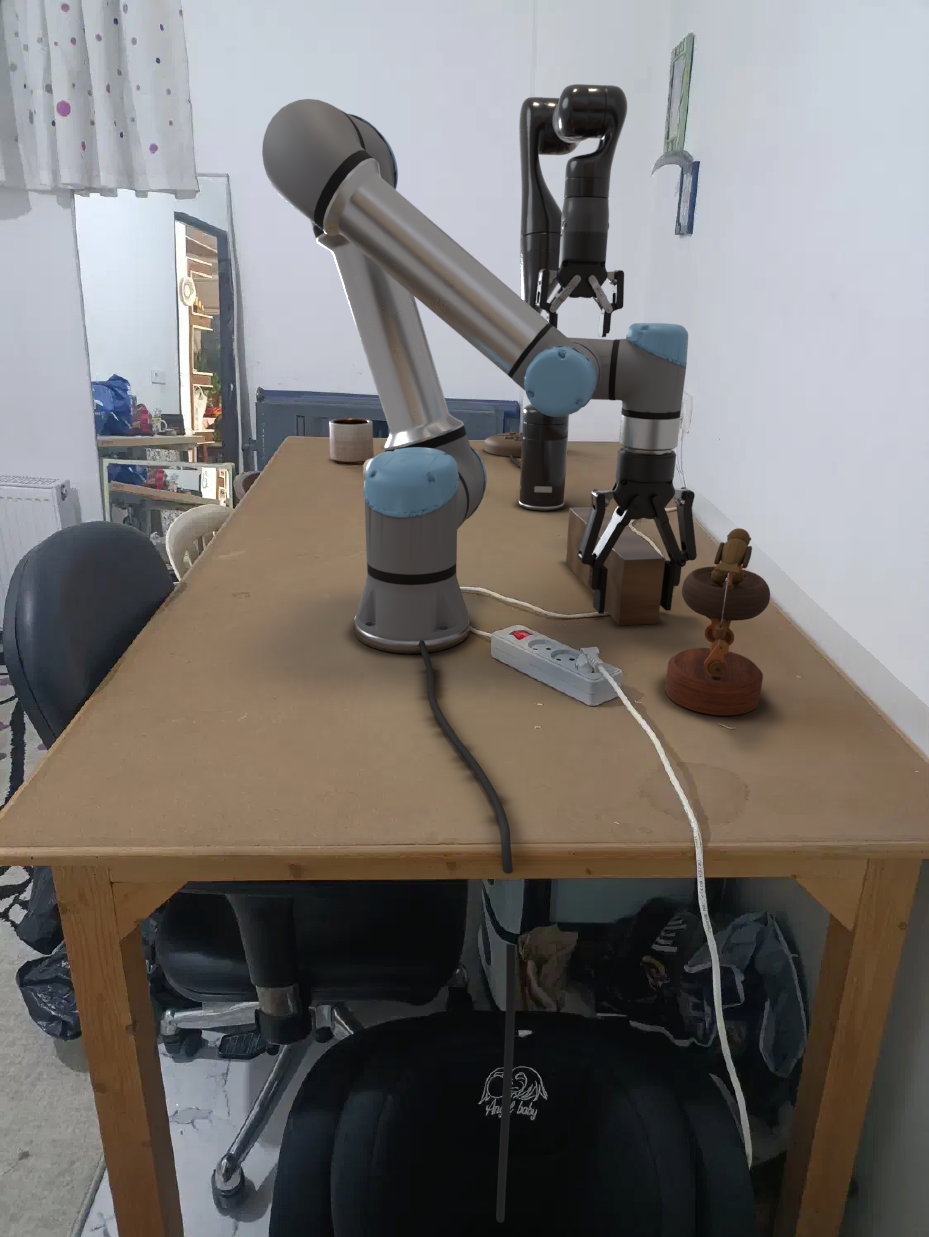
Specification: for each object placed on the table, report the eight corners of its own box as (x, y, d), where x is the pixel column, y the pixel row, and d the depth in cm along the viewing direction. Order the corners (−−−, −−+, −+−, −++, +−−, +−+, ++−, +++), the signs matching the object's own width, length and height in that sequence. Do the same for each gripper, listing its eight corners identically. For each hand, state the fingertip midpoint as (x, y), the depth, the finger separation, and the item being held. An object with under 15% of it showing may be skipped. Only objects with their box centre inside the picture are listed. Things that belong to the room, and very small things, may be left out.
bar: (658, 623, 117) (665, 558, 113) (618, 625, 116) (624, 559, 113) (598, 562, 142) (603, 506, 138) (565, 563, 141) (569, 507, 137)
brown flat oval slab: (489, 466, 209) (490, 449, 208) (482, 444, 235) (482, 429, 234) (574, 466, 210) (575, 449, 209) (557, 445, 236) (558, 430, 234)
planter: (327, 456, 217) (325, 418, 214) (369, 454, 220) (368, 417, 217) (334, 465, 208) (332, 425, 204) (377, 463, 211) (376, 424, 207)
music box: (777, 726, 90) (790, 547, 83) (671, 726, 92) (676, 550, 84) (748, 664, 104) (758, 507, 97) (657, 666, 106) (660, 510, 98)
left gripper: (713, 442, 115) (693, 595, 124) (559, 444, 112) (550, 602, 121) (738, 452, 109) (715, 615, 117) (574, 455, 105) (564, 622, 114)
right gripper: (619, 232, 140) (611, 335, 146) (535, 230, 137) (530, 335, 144) (634, 230, 133) (625, 339, 139) (546, 228, 131) (541, 338, 137)
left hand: (631, 608), depth 119 cm, fingers open, 9 cm apart
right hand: (577, 337), depth 141 cm, fingers open, 8 cm apart
